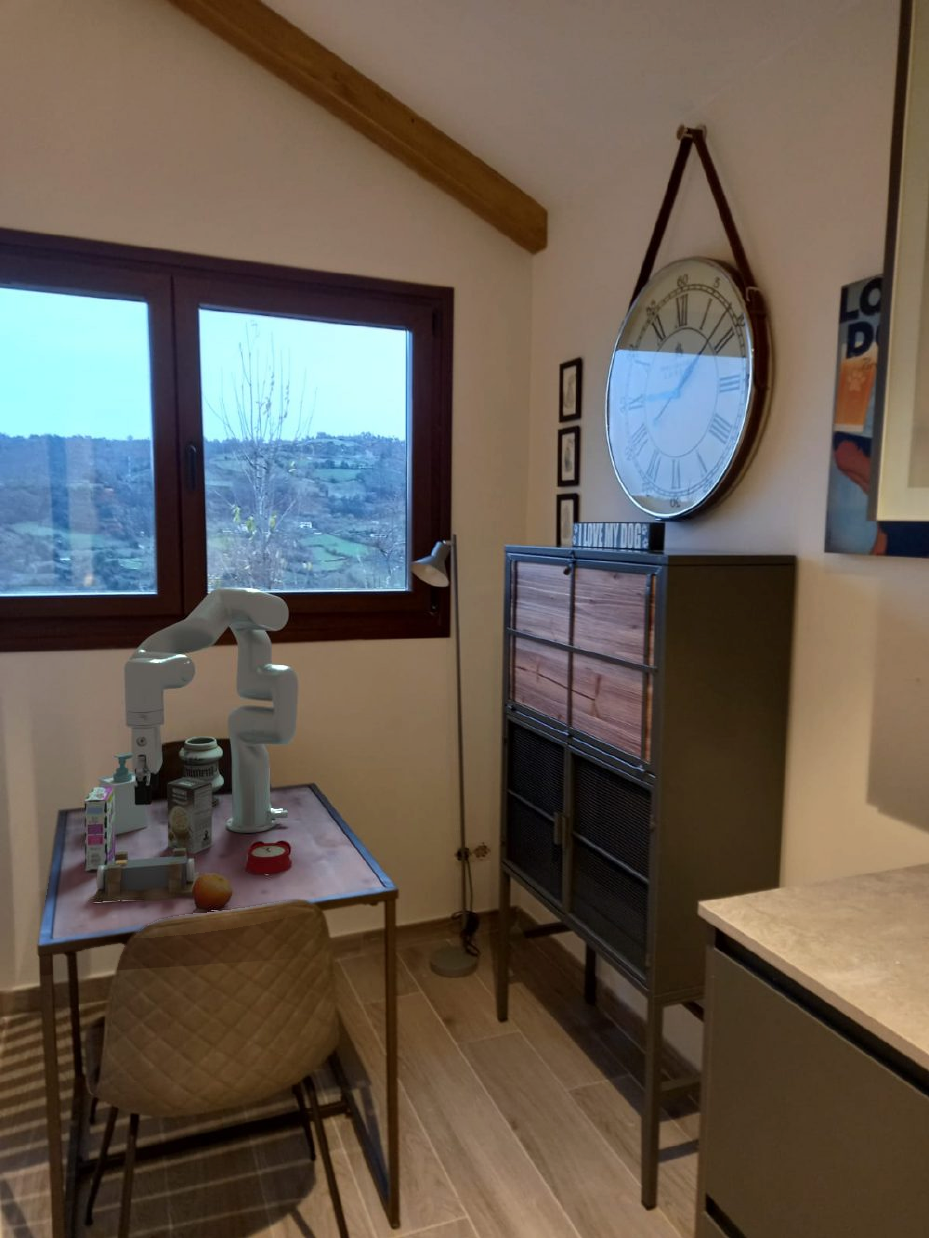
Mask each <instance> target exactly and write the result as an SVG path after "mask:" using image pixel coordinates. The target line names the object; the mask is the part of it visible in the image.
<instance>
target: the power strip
mask: <svg viewBox="0 0 929 1238" xmlns="http://www.w3.org/2000/svg"><path fill="white" fill-rule="evenodd" d="M172 861H182V886H186V882H187V881H188V882H194V873H195V859H194V858H188V856H187V854H186V856H162V857H150V858H138V859H128V860H117V861H115V860H112V861H108V862H107V864H106V865H102V866H98V870H97V871H96V887H97V888H96V889H97V890H99V889H105V893H108V876H107V868H108V866H109V865H121V879H122V891H132V890H144V889H156V888H168V887H169V862H172Z"/></svg>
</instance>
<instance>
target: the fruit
mask: <svg viewBox="0 0 929 1238" xmlns="http://www.w3.org/2000/svg"><path fill="white" fill-rule="evenodd" d="M192 895H193V897H192V898H193V903H194V904H193V905H194V907H195V908H194V910H193V911H192V912H193V913H195V912H196V911H198V910H202V911H203V912H212V911H211V910H220V911H221V910H223V909H224V908H225V907H226V906H227V904H228V903H229V902H230V900H232V899H231V898H232V897H233V889H232V887H231V884H230V882H229V880H228V879H227V878H226V877H225V876H223V875H221V874H219V873H216V872H213V873H212V872H205V873H203V874H201V875H200V877H199V878H198V879H197V880H196V882H195V884H194V886H193V889H192Z"/></svg>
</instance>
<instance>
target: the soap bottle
mask: <svg viewBox="0 0 929 1238" xmlns="http://www.w3.org/2000/svg"><path fill="white" fill-rule="evenodd" d="M113 757H114V758H118V759H117V760H118V761H117V762H118V764H119V766H118V767H117V768H116V769H115V771H116V772H115V773H113V775H109V776H105V777H99V779H98V785H99V786H98V787H115V836H117V835H120V834H125V833H128V832H129V833H130V832H132V831H137V830H140V829H145V828H148V806H147V805H135V792H134V786H135V776H136V775H135V774H133V771H130V770H129V767H128V766H126V765H125V764H126V763H127V760H130V759H132V753H131V752H129V753H123V754H118V755H113Z"/></svg>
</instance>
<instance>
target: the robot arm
mask: <svg viewBox="0 0 929 1238" xmlns="http://www.w3.org/2000/svg"><path fill="white" fill-rule="evenodd" d="M289 615H290V614H289V608H288V605H287V603H286V602H285V600H284V599H282V598H281V597H279V596H276V595H274V594H270V593H268V592H265V591H262V590H259V589H256V588H249V587H227V586H226V587H217V588H215V589H212V590H211V591H210V592H208V594H207V595H206V596H205V597H204V598H203V600H201V601H200V602H199V604H198V605H197V606H196V607H194V610H192V612H190V614H189V615H187V617H186V618H185V619H183V620H181V621H179V622H176V623H173V624H171V625H170V626H167V627H165V628H163V629H161V630H159V631H157V632H155V633H153V634H151V635H150V636H148V637H147V638H146V639H145V640H143V642H142V643H140V645H139V646H138V647H137V648H136V649H135V650H134V652H133V654H131V656H130V658H129V660H127V661H126V662H125V663H124V668H123V669H124V670H123V671H124V673H123V674H124V703H125V704H124V706H125V710H124V711H125V726H126V727H127V728H131V730H130V731H131V735H130V737H131V738H130V739H131V741H130V742H131V743H130V744H131V746H130V747H131V752H130V753H132V758H131V770H132V771H131V772H132V773H133V774H135V775H136V776H135V786H134V792H135V805H148V806H150V805H151V804H152V801H153V800H152V799H153V798H152V797H153V796H152V791H158V790H159V771H160V769H161V767H162V764H163V751H162V750H163V749H162V748H163V747H162V733H161V732H162V731H161V730H162V729H161V726H162V725H164V724H165V711H164V710H165V708H164V704H165V703H164V691H165V690H175V689H176V690H177V689H182V688H184V687H186V686H188V685H190V683H191V682H192V681H193V679H194V677H195V675H196V674H195V673H196V666H195V663H194V661H193V660H192V659H191V658H190V657H189V656H187V655H185V654H189V653H193V652H198V651H202V650H204V649H208V648H210V647H212V646H213V645H214V644H215V643H216V642H217V641H218V639H220V637H221V636H222V635H223V634H224V632H225V631H226V630H227V628H230V629H231V632H232V633H233V635H234V637H235V640H236V643H237V665H236V666H237V667H236V681H235V682H236V683H235V685H236V686H235V689H236V692H237V695H238V696H239V697H240V698H242V699H244V700H249V701H258V702H270V703H272V704H273V705H272V706H273V707H272V706H266V705H252V704H251V705H250V704H249V705H247V704H245V705H239V706H236V707H235V708H234V709H232V710H231V711H230V712H229V715H228V717H227V732H228V737H229V743H230V749H231V752H230V753H231V789H232V790H231V791H232V792H231V794H232V795H231V799H232V800H231V801H232V804H231V805H232V806H231V807H232V817H230V818H229V819H228V820H227V821H226V826H225V827H226V829H228V830H229V831H231V832H235V833H241V834H242V833H243V834H248V833H249V834H251V833H252V834H253V833H260V832H265V831H267V830H271V829H273V828H274V827H275V826H276V825H277V819H279V818H280V819H288V810H283V809H284V808H278V809H277V808H272V803H271V782H270V781H271V774H270V772H271V771H270V770H271V767H270V766H271V762H270V755H269V752H268V749H267V748H266V746H265V745H268V746H269V745H271V746H286V745H289V744H290V743H291V742H292V741H293V739H294V736H295V734H296V729H297V719H298V718H297V717H298V698H299V679H298V676H297V673H296V671H295V670H294V669H293V668H292V667H291V666H288V665H282V664H273V663H272V653H273V650H272V649H273V648H272V647H273V645H272V641H271V638H270V637H269V635H268V634H267V631H269V632H277V631H280V630H282V629H283V628H285V626H286V625H287V622H288V620H289Z"/></svg>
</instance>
